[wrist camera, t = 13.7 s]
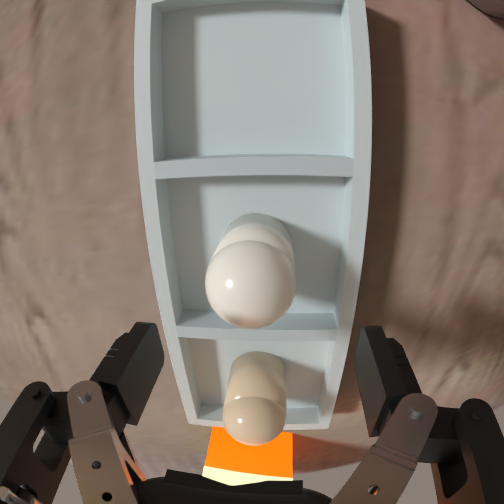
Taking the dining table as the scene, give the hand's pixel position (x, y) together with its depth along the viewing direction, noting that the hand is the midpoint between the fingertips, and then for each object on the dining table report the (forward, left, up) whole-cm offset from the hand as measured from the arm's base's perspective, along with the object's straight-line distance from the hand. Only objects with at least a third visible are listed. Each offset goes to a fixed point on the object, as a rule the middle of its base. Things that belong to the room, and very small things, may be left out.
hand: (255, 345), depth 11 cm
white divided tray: (+1, 0, -10) cm, 10 cm away
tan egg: (+1, +11, -9) cm, 14 cm away
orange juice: (+2, +25, -11) cm, 27 cm away
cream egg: (+1, 0, -9) cm, 9 cm away
